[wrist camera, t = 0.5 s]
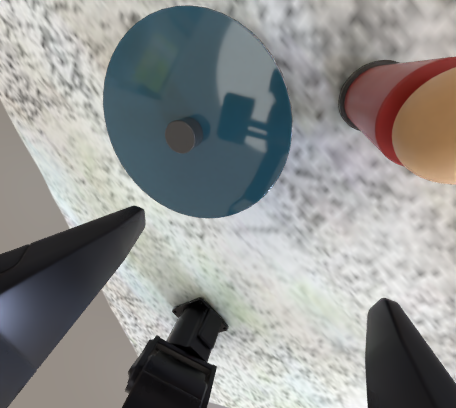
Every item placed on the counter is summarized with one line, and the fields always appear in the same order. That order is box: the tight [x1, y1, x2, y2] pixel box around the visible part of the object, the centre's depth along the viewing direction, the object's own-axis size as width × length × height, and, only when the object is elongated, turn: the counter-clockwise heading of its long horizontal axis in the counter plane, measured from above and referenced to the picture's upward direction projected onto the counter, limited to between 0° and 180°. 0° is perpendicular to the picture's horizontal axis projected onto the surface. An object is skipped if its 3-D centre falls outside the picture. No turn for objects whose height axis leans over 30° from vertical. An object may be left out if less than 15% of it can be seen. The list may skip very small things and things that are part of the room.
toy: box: [339, 57, 456, 184], centre depth 12 cm, size 5×5×14 cm
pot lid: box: [103, 6, 293, 218], centre depth 17 cm, size 14×14×3 cm
